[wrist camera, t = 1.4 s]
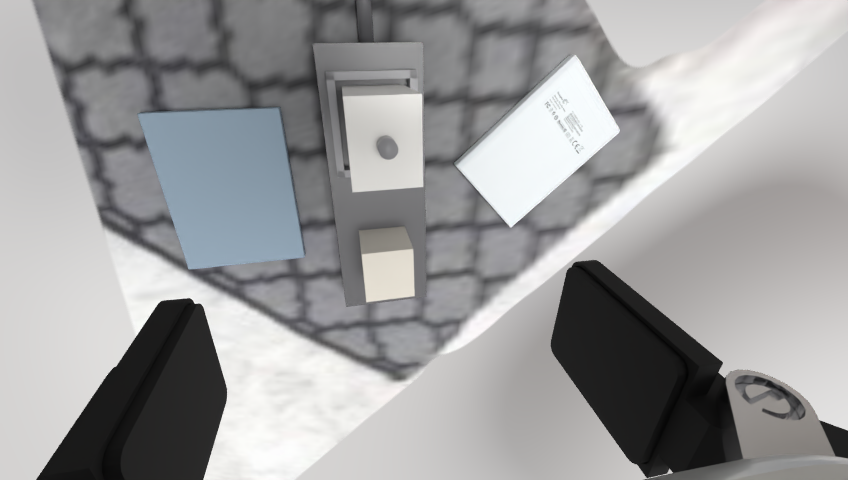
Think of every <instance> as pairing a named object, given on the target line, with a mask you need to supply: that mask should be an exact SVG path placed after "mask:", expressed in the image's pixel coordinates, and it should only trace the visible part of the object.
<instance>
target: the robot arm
mask: <svg viewBox="0 0 848 480" xmlns="http://www.w3.org/2000/svg"><path fill="white" fill-rule="evenodd" d="M551 349H552V352H553V354H554V356H555V357H556V359H557V360H558V361H559V363H560V364H561V365H562V367H563V368H564V370H565V371H566V373H567V374H568V375H569V377H570V378H571V380H572V381H573V382H574V384H575V385H576V387H577V388H578V389H579V391H580V392H581V394H582V395H583V396H584V398H585V399H586V401H587V402H588V403H589V405H590V406H591V407H592V409H593V410H594V412H595V413H596V415H597V416H598V417H599V419H600V420H601V422H602V423H603V424H604V426H605V427H606V429H607V430H608V431H609V433H610V434H611V436H612V437H613V438H614V440H615V441H616V443H617V444H618V445H619V447H620V448H621V450H622V451H623V452H624V454H625V455H626V457H627V458H628V459H629V460H630V461H631V462H632V463H634V464H637V465H638V466H639V468H640V469H641V470H642V472H643V473H644V474H645V476H646V477H647V478H649V477H654V476H658V475H662V474H666V473H667V472H668V470H669V468H670V469H671V471H672V472H673V473H672V474H668V475H663V476H658V477H654V478H649V479H645V480H848V431H847V430H845V429H842V428H839V427H836V426H833V425H831V424H828V423H825V422H823V421H820V420H819V419H818V417H817V415H816V413H815V411H814V409H813V408H812V406H811V405H810V403H809V402H808V401H807V400H806V399H805V398H804V397H803V396H802V395H801V394H800V393H798V392H797V391H796V390H794V389H793V388H791V387H790V386H788V385H787V384H785V383H783V382H781V381H779V380H777V379H775V378H773V377H770V376H768V375H765V374H763V373H759V372H755V371H750V370H735V371H731V372H730V373H729V374H728V375H727V376H726V377H725V378H724V377H723V376H722V375H720V374H719V373H718V372H719V369H720V368H721V366H722V364H723V362H722V361H720V360H719V359H718V358H717V357H715V356H714V355H713V354H712V353H711V352H709V351H708V350H707V349H706V348H704V347H703V346H702V345H701V344H700V343H698V342H697V341H696V340H695V339H693V338H692V337H691V336H689V335H688V334H687V333H686V332H685V331H684V330H682V329H681V328H680V327H679V326H677V325H676V324H675V323H674V322H673V321H671V320H670V319H669V318H668V317H666V316H665V315H664V314H663V313H661V312H660V311H659V310H658V309H656V308H655V307H654V306H653V305H652V304H650V303H649V302H648V301H647V300H645V299H644V298H643V297H642V296H641V295H639V294H638V293H637V292H636V291H634V290H633V289H632V288H631V287H630V286H628V285H627V284H626V283H624V282H623V281H622V280H621V279H620V278H618V277H617V276H616V275H615V274H614V273H612V272H611V271H610V270H609V269H607V268H606V267H605V266H604V265H603V264H601V263H600V262H599V261H597V260H591V261H581V262H575V263H574V264H573V265H572V267H571V268H569V269H568V270H567V273H566V278H565V282H564V286H563V291H562V295H561V299H560V304H559V308H558V313H557V317H556V321H555V326H554V330H553V335H552V339H551ZM226 400H227V388H226V384H225V380H224V377H223V373H222V370H221V367H220V363H219V360H218V356H217V353H216V349H215V346H214V343H213V339H212V336H211V332H210V329H209V326H208V322H207V319H206V315H205V312H204V309H203V306H202V305H201V304H194V302H193V300H192V299H190V298H187V299H176V300H166V301H161V302H160V303H159V304H158V305H157V307H156V308H155V310H154V311H153V313H152V314H151V316H150V317H149V318H148V320H147V321H146V323H145V324H144V326H143V327H142V329H141V330H140V332H139V333H138V335H137V336H136V338H135V339H134V341H133V342H132V344H131V345H130V347H129V348H128V350H127V352H126V353H125V354H124V356H123V357H122V359H121V360H120V362H119V363H118V365H117V366H116V367H114V368H113V369H112V370H111V371H110V373H109V374H108V375H107V376H106V378H105V379H104V381H103V382H102V384H101V385H100V387H99V388H98V390H97V391H96V393H95V394H94V395H93V397H92V398H91V400H90V401H89V403H88V404H87V406H86V407H85V409H84V410H83V412H82V413H81V415H80V416H79V418H78V419H77V420H76V422H75V424H74V425H73V426H72V428H71V429H70V431H69V432H68V434H67V435H66V437H65V438H64V440H63V441H62V443H61V444H60V445H59V447H58V449H57V450H56V451H55V453H54V454H53V456H52V457H51V459H50V460H49V462H48V463H47V465H46V466H45V468H44V469H43V471H42V472H41V473H40V475H39V476H38V478H37V479H36V480H203V478H204V475H205V472H206V468H207V465H208V462H209V458H210V455H211V451H212V448H213V445H214V441H215V438H216V435H217V431H218V428H219V424H220V421H221V418H222V414H223V411H224V408H225V404H226Z"/></svg>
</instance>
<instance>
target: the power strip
mask: <svg viewBox="0 0 848 480" xmlns="http://www.w3.org/2000/svg"><path fill="white" fill-rule="evenodd" d="M356 7H357V20H358V32H359V43H313V50H314V58H315V66H316V73H317V81H318V89H319V97H320V105H321V113H322V121H323V129H324V136H325V144H326V152H327V160H328V168H329V176H330V184H331V192H332V199H333V207H334V215H335V223H336V231H337V239H338V247H339V255H340V263H341V270H342V278H343V286H344V294H345V302H346V307H349V306H357V305H365V304H373V303H381V302H388V301H396V300H404V299H412V298H420V297H426V227H425V151H424V74H423V42H392V43H374V38H373V22H372V6H371V0H356ZM388 84H403V85H405V86H407V87H409V88H411V89H413V90H415V91H417V92H419V93H421V94H422V132H423V187H417V188H404V189H391V190H378V191H365V192H352V183H351V173H350V163H349V154H348V144H347V134H346V124H345V114H344V104H343V95H342V86H354V85H388Z"/></svg>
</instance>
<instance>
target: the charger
mask: <svg viewBox="0 0 848 480" xmlns="http://www.w3.org/2000/svg"><path fill="white" fill-rule="evenodd" d="M342 95H343V104H344V114H345V124H346V134H347V144H348V154H349V163H350V173H351V183H352V192H365V191H378V190H391V189H404V188H417V187H423V132H422V94H421V93H419V92H417V91H415V90H413V89H411V88H409V87H407V86H405V85H403V84H388V85H354V86H342Z"/></svg>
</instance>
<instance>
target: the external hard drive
mask: <svg viewBox="0 0 848 480" xmlns="http://www.w3.org/2000/svg"><path fill="white" fill-rule="evenodd" d="M619 132H620V130H619V127H618V126H617V124H616V122H615V121H614V119H613V117H612V116H611V114H610V112H609V111H608V109H607V107H606V105H605V104H604V102H603V100H602V98H601V97H600V95H599V93H598V91H597V90H596V88H595V86H594V84H593V83H592V81H591V79H590V77H589V76H588V74H587V72H586V71H585V69H584V67H583V66H582V64H581V62H580V60H579V59H578V58H577V56H576V55H569V56H568V57H567V58H566V59H565V60H563V61H562V62H561V63H560V64H559V65H558V66H557V67H556V68H555V69H554V70H553V71H552V72H551V73H549V74H548V75H547V76H546V77H545V78H544V79H543V80H542V81H541V82H540V83H539V84H538V85H537V86H536V87H535V88H533V89H532V90H531V91H530V92H529V93H528V94H527V95H526V96H525V97H524V98H523V99H522V100H521V101H520V102H518V103H517V104H516V105H515V106H514V107H513V108H512V109H511V110H510V111H509V112H508V113H507V114H506V115H505V116H504V117H503V118H501V119H500V120H499V121H498V122H497V123H496V124H495V125H494V126H493V127H492V128H491V129H490V130H489V131H488V132H486V133H485V134H484V135H483V136H482V137H481V138H480V139H479V140H478V141H477V142H476V143H475V144H474V145H473V146H472V147H471V148H469V149H468V150H467V151H466V152H465V153H464V154H463V155H462V156H461V157H460V158H459V159H458V160H457V161H456V162H455V163H454V165H455V166H456V167H457V168H458V169H459V171H460V172H461V173H462V174H463V175H464V176H465V177H466V178H467V180H468V181H469V182H470V183H471V184H472V185H473V186H474V187H475V189H476V190H477V191H478V192H479V193H480V194H481V195H482V196H483V198H484V199H485V200H486V201H487V202H488V203H489V204H490V206H491V207H492V208H493V209H494V210H495V211H496V212H497V213H498V215H499V216H500V217H501V218H502V219H503V220H504V221H505V223H506V224H507V225H508V226H509V227H512V226H513V225H514V224H516V223H517V222H518V221H519V220H520V219H521V218H522V217H523V216H525V215H526V214H527V213H528V212H529V211H530V210H531V209H533V208H534V207H535V206H536V205H537V204H538V203H539V202H541V201H542V200H543V199H544V198H545V197H546V196H547V195H548V194H550V193H551V192H552V191H553V190H554V189H555V188H556V187H558V186H559V185H560V184H561V183H562V182H563V181H564V180H566V179H567V178H568V177H569V176H570V175H571V174H572V173H574V172H575V171H576V170H577V169H578V168H579V167H580V166H582V165H583V164H584V163H585V162H586V161H587V160H588V159H589V158H591V157H592V156H593V155H594V154H595V153H596V152H597V151H599V150H600V149H601V148H602V147H603V146H604V145H605V144H606V143H608V142H609V141H610V140H611V139H612V138H613V137H615V136H616V135H617V134H618V133H619Z"/></svg>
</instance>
